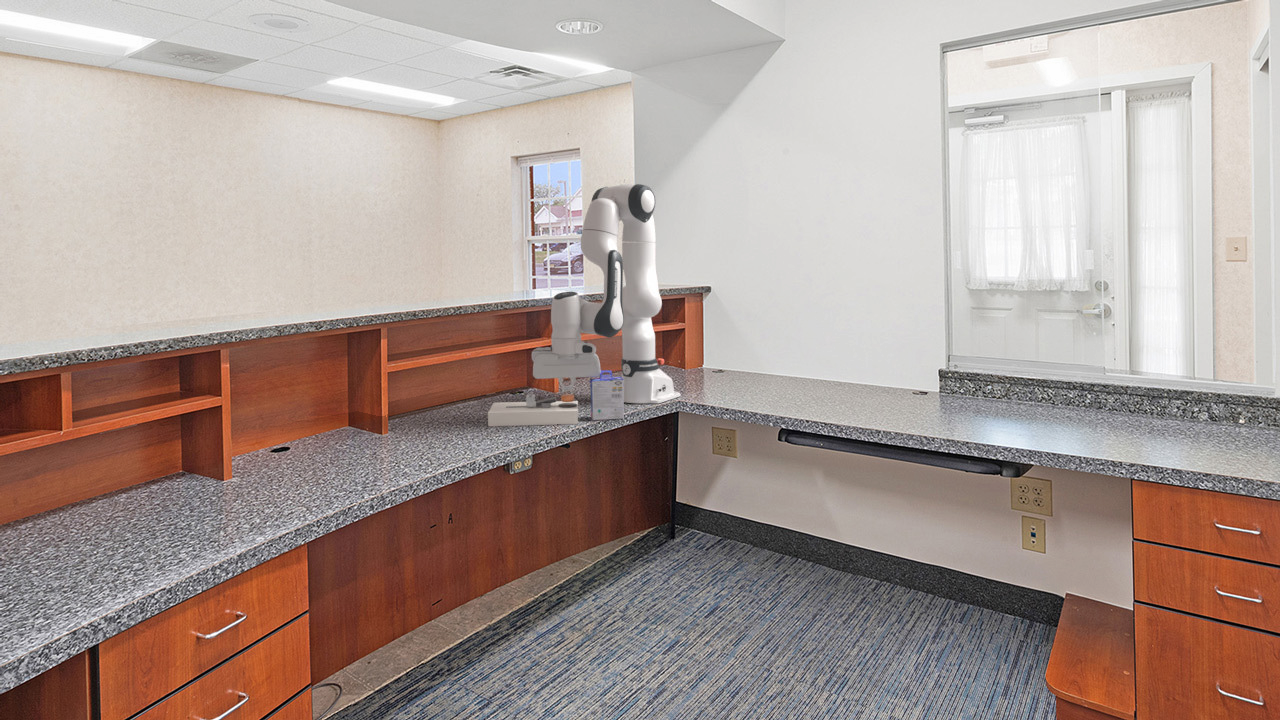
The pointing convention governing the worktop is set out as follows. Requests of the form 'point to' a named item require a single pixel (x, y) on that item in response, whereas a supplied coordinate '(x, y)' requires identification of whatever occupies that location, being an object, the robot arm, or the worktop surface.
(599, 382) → the ink cartridge box
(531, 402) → the slider knob
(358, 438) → the worktop surface
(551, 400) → the rocker switch
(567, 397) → the push button
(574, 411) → the control panel
